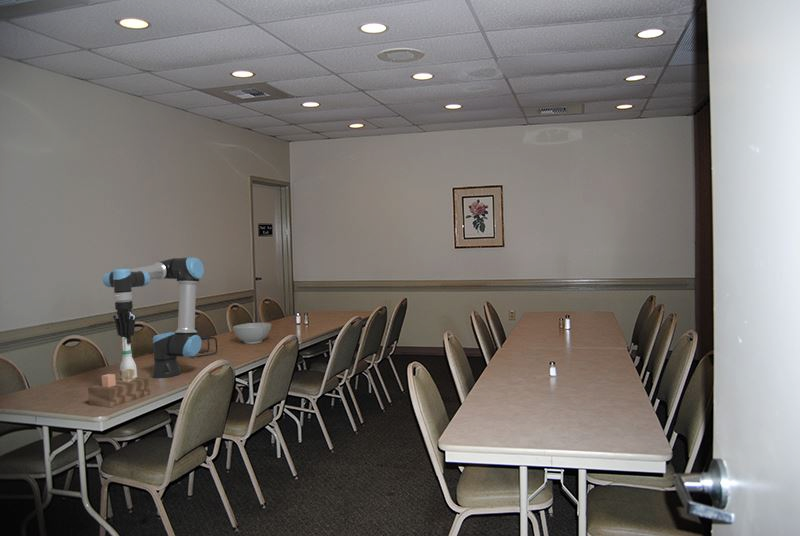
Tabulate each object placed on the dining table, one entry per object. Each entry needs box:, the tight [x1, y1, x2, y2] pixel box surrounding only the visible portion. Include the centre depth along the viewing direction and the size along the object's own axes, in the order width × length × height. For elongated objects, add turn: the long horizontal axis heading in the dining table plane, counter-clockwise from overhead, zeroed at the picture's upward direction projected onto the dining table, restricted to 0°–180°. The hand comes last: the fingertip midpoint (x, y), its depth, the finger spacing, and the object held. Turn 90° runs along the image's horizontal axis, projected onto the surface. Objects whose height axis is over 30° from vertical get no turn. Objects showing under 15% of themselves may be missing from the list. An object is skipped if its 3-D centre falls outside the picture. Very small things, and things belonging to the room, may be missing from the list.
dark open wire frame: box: [190, 324, 219, 359], centre depth 382 cm, size 13×17×22 cm
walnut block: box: [87, 376, 151, 409], centre depth 279 cm, size 22×14×8 cm, turn 155°
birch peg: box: [122, 369, 135, 382], centre depth 283 cm, size 4×4×8 cm
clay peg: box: [101, 373, 117, 387], centre depth 273 cm, size 4×4×8 cm
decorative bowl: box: [232, 322, 272, 345], centre depth 424 cm, size 27×27×12 cm
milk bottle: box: [119, 349, 138, 379], centre depth 297 cm, size 8×8×20 cm
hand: (126, 350), depth 283 cm, fingers closed
